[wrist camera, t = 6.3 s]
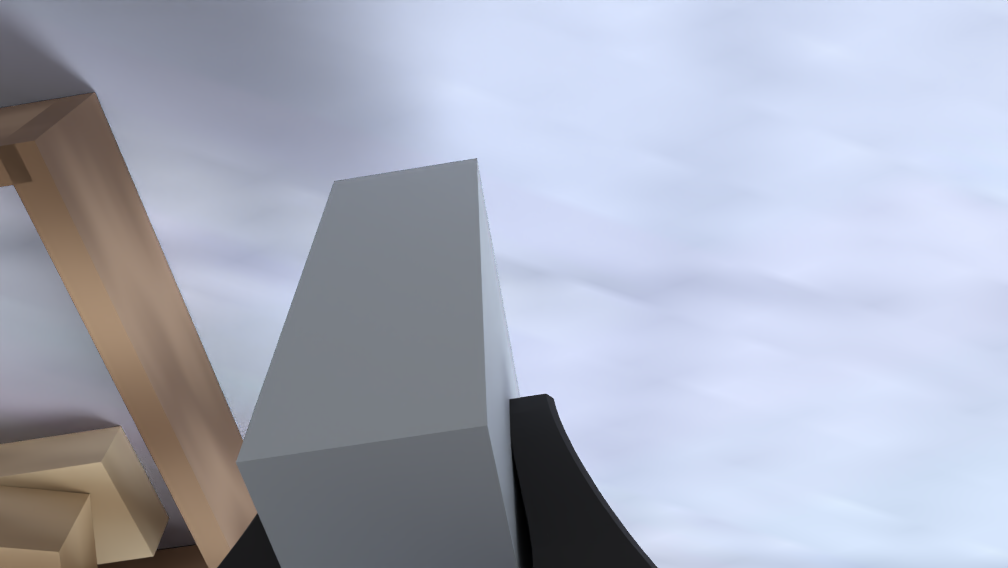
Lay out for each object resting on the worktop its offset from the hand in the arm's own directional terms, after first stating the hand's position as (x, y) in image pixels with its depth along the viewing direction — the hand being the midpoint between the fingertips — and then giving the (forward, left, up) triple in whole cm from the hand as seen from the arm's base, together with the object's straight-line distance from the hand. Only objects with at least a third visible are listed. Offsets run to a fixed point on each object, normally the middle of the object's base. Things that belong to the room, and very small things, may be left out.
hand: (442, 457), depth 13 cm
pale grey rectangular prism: (+1, 0, -3) cm, 3 cm away
